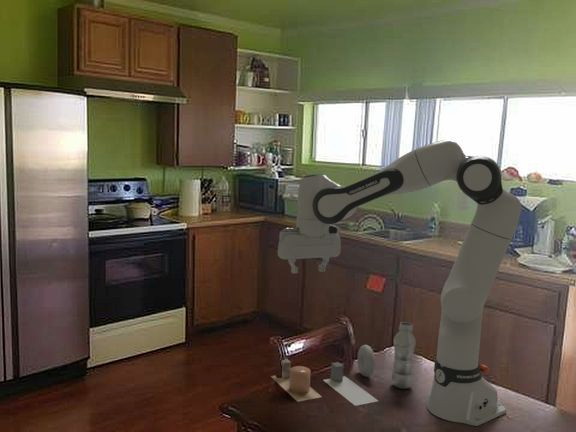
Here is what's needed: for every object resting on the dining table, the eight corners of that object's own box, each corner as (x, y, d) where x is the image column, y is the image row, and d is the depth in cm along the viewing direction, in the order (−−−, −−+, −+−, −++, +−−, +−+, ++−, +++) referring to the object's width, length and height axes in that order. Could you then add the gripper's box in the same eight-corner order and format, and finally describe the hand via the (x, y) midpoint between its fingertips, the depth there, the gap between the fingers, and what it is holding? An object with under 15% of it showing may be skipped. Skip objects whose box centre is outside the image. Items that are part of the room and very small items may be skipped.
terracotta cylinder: (303, 384, 165) (304, 364, 164) (313, 392, 159) (314, 372, 159) (285, 387, 162) (286, 367, 161) (295, 395, 157) (296, 375, 156)
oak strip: (293, 375, 173) (294, 357, 172) (322, 400, 157) (323, 380, 156) (270, 379, 169) (271, 360, 168) (297, 404, 153) (298, 384, 152)
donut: (375, 382, 171) (377, 351, 170) (364, 382, 171) (366, 351, 169) (365, 369, 181) (367, 340, 180) (355, 369, 180) (357, 340, 179)
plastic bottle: (412, 392, 165) (417, 328, 163) (390, 389, 166) (394, 326, 164) (412, 383, 171) (417, 322, 169) (390, 381, 173) (395, 319, 170)
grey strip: (344, 379, 172) (345, 360, 171) (378, 404, 156) (379, 384, 155) (322, 383, 168) (323, 364, 168) (354, 409, 152) (356, 388, 152)
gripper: (284, 229, 158) (282, 276, 160) (344, 228, 167) (341, 272, 169) (275, 226, 164) (273, 271, 165) (333, 225, 173) (331, 268, 174)
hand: (308, 272), depth 167 cm, fingers open, 8 cm apart
